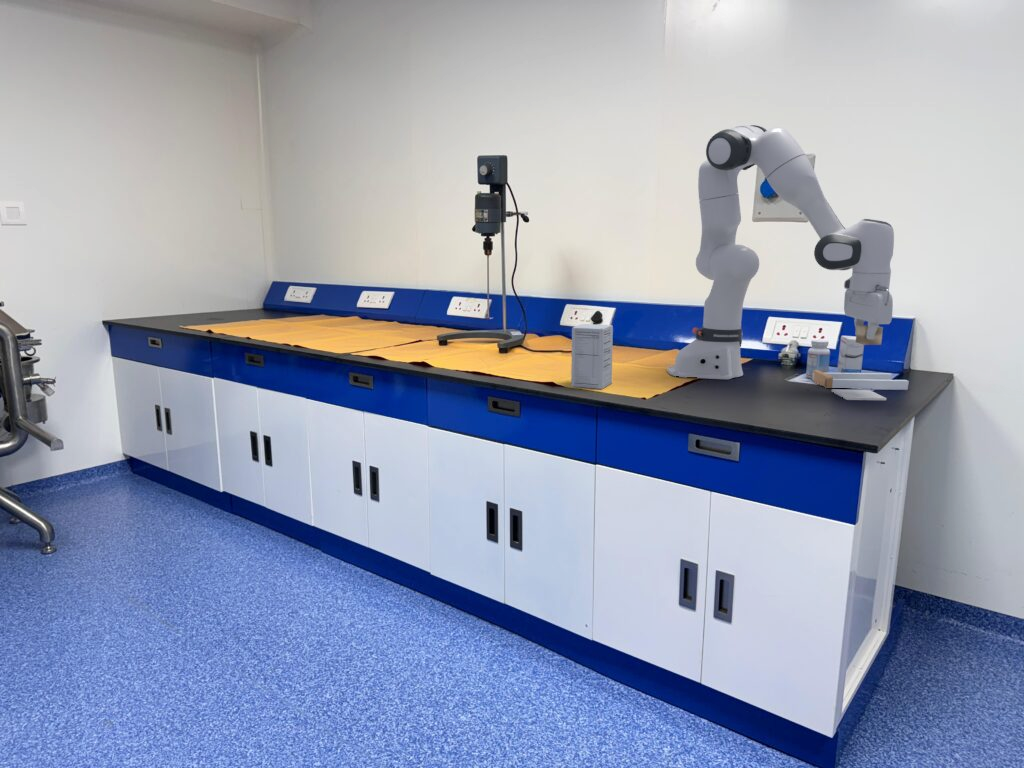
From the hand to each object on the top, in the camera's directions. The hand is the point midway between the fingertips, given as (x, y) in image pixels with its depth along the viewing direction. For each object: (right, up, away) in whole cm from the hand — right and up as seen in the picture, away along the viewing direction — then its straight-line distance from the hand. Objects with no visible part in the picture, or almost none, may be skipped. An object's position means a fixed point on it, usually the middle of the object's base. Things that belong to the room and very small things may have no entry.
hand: (864, 337), depth 182 cm
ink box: (+10, -10, +30) cm, 34 cm away
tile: (0, -15, +3) cm, 16 cm away
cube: (+1, -2, 0) cm, 2 cm away
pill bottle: (-1, -11, +27) cm, 29 cm away
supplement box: (-70, -13, +16) cm, 72 cm away
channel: (+7, -13, +17) cm, 22 cm away
